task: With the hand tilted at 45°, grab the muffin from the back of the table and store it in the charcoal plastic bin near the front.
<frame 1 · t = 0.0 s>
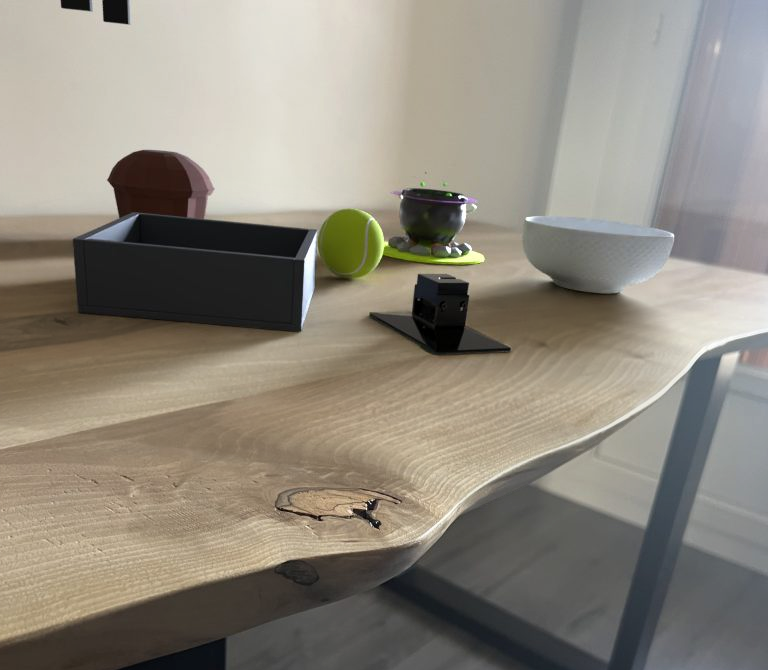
hand: (98, 17, 83), 22 cm above the table, tool pointing down, fingers open, 13 cm apart
muffin: (162, 246, 95), on the table
cereal bowl: (586, 288, 96), on the table
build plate: (436, 335, 69), on the table
toy cauldron: (427, 255, 108), on the table
bin: (209, 299, 73), on the table
tennis ball: (348, 279, 88), on the table
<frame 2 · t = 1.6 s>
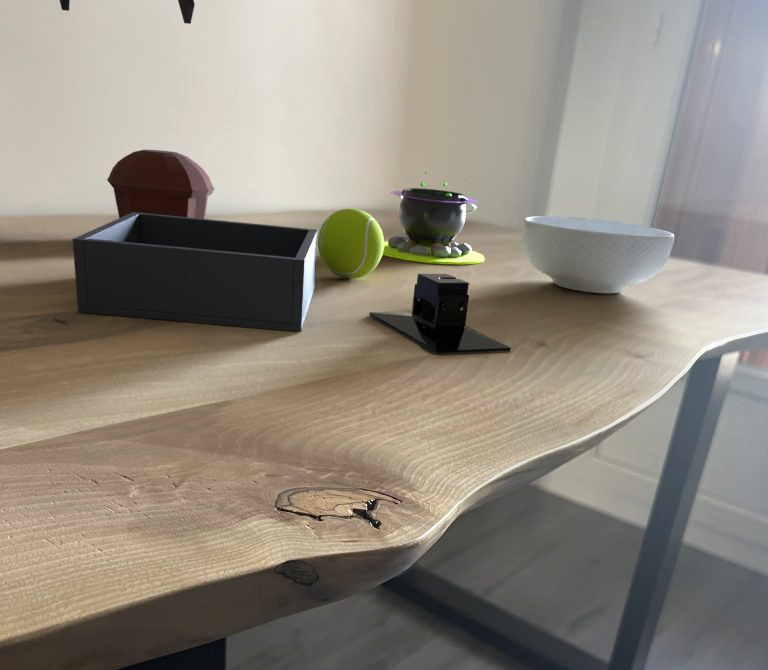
hand: (129, 7, 92), 24 cm above the table, tool tilted 45°, fingers open, 13 cm apart
nothing on the table moved.
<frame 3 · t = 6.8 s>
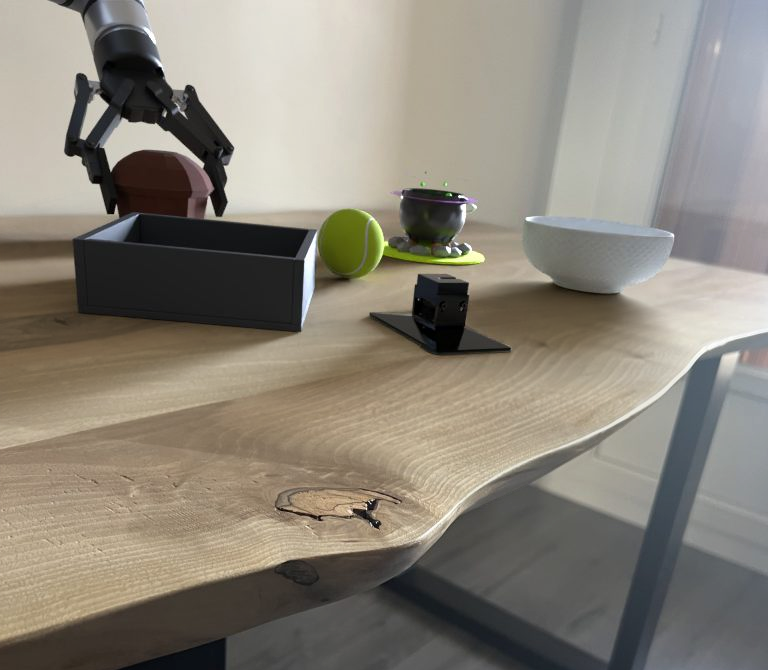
hand: (169, 208, 91), 4 cm above the table, tool tilted 45°, fingers closed on muffin, 12 cm apart
muffin: (162, 246, 95), on the table, touching gripper
everything else where it was.
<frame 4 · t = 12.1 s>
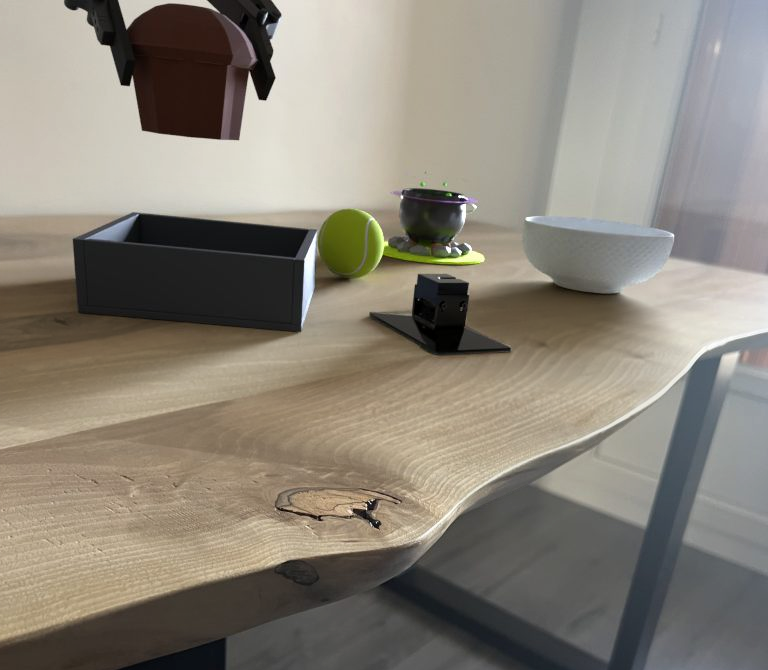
hand: (200, 81, 70), 17 cm above the table, tool tilted 45°, fingers closed on muffin, 12 cm apart
muffin: (190, 137, 74), point 13 cm above the table, touching gripper
everything else where it was.
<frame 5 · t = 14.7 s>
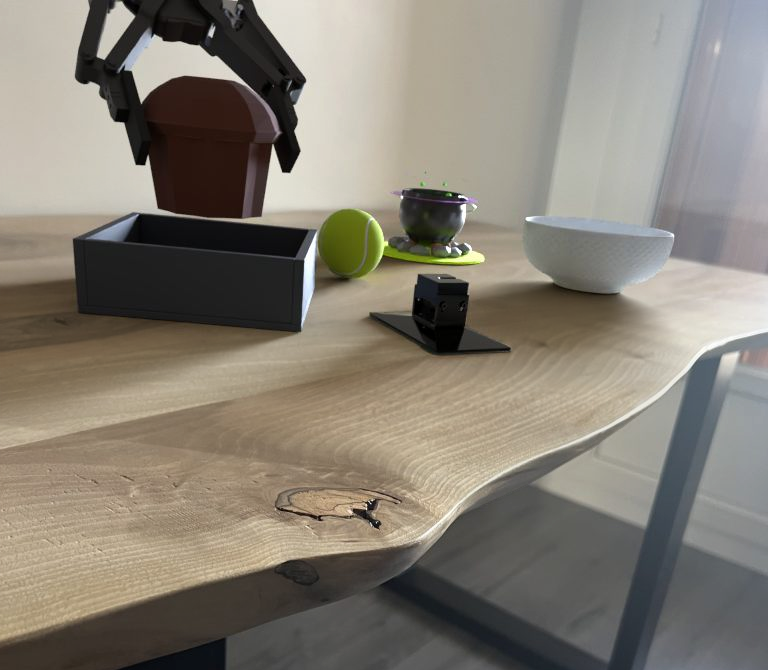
hand: (221, 158, 65), 12 cm above the table, tool tilted 45°, fingers closed on muffin, 12 cm apart
muffin: (209, 213, 69), point 7 cm above the table, touching gripper
everything else where it was.
when the fingers open (5 cm above the table, at t = 17.2 s): muffin stays where it is, resting on bin.
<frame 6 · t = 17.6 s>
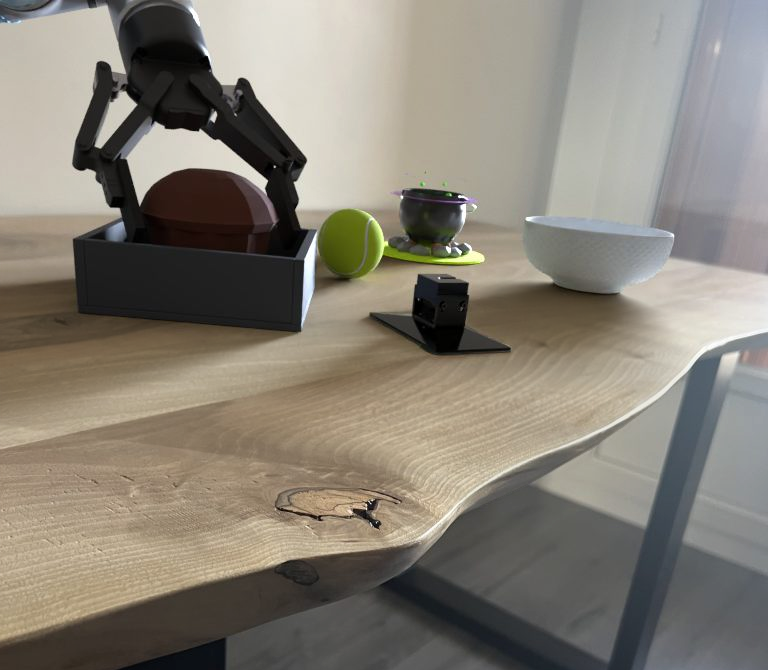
hand: (219, 240, 68), 5 cm above the table, tool tilted 45°, fingers open, 13 cm apart
muffin: (210, 294, 72), resting on bin
everything else where it was.
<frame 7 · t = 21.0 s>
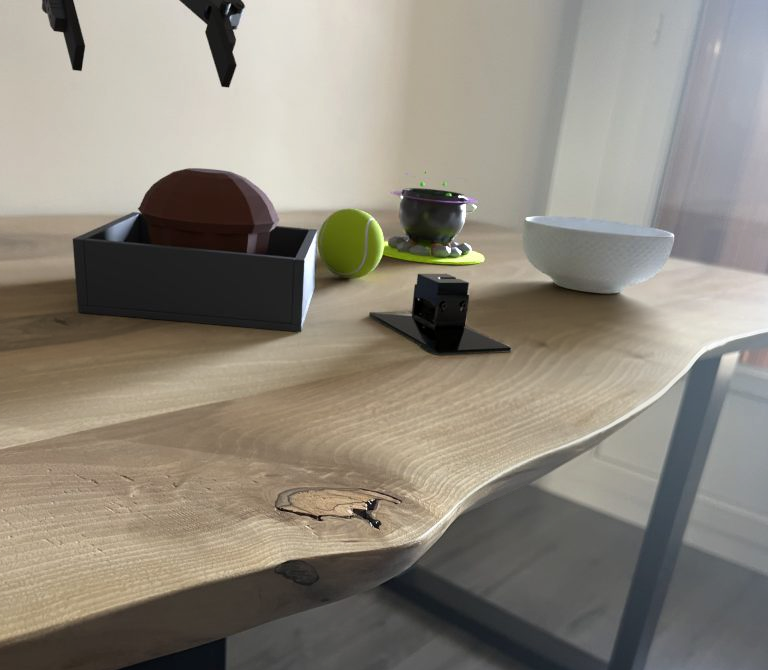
hand: (157, 68, 73), 18 cm above the table, tool tilted 45°, fingers open, 13 cm apart
nothing on the table moved.
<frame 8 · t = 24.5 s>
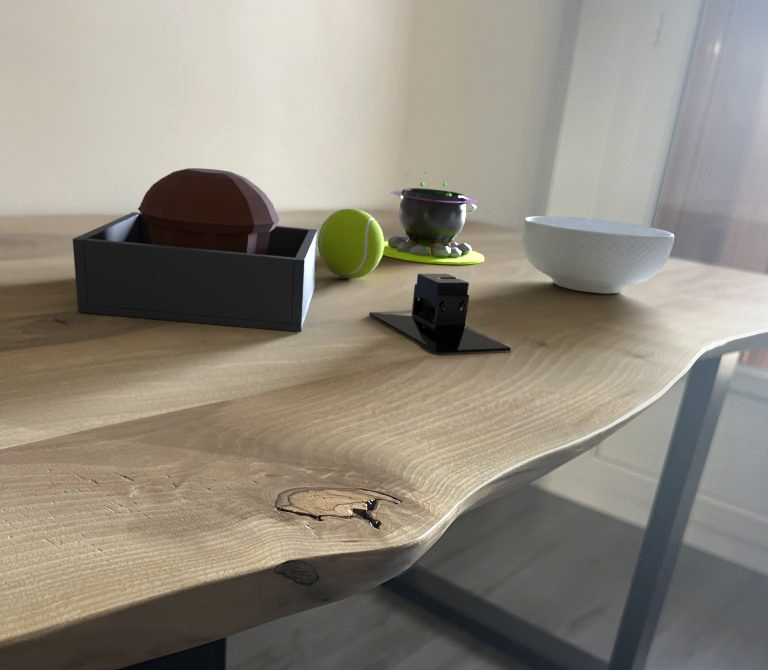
nothing on the table moved.
at the end: muffin inside the target area in the bin (0.0 cm from its centre), point 0.4 cm above the bin's base; muffin tilted 0°; the gripper is holding nothing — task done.
